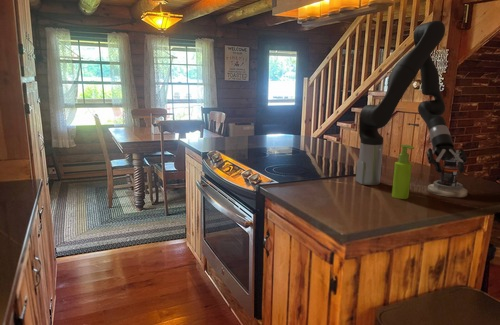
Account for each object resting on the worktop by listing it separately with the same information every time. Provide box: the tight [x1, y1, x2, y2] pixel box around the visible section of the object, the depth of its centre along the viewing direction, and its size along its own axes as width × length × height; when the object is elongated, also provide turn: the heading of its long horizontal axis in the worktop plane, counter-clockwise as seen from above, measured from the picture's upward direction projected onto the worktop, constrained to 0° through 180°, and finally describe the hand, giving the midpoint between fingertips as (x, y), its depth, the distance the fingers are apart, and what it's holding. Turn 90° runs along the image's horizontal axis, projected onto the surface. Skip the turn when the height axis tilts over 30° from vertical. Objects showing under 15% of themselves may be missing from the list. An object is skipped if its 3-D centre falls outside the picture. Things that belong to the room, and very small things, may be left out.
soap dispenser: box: [391, 144, 415, 200], centre depth 138 cm, size 6×7×20 cm
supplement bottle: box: [439, 160, 459, 186], centre depth 146 cm, size 6×6×11 cm
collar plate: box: [427, 179, 469, 198], centre depth 147 cm, size 14×14×4 cm
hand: (451, 172), depth 145 cm, fingers open, 8 cm apart
